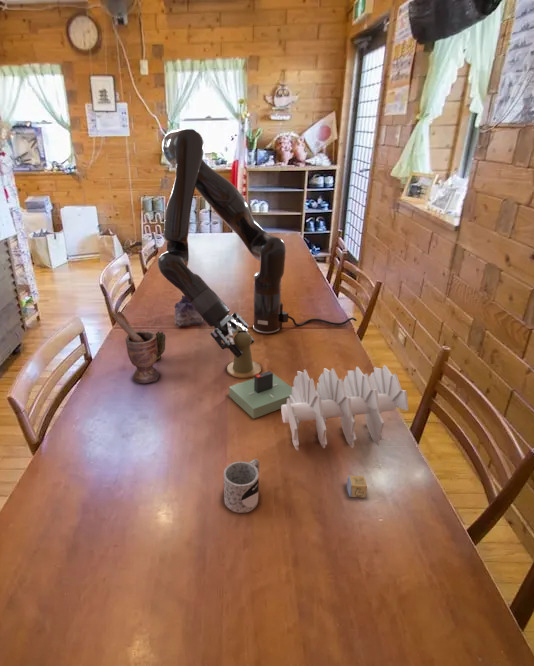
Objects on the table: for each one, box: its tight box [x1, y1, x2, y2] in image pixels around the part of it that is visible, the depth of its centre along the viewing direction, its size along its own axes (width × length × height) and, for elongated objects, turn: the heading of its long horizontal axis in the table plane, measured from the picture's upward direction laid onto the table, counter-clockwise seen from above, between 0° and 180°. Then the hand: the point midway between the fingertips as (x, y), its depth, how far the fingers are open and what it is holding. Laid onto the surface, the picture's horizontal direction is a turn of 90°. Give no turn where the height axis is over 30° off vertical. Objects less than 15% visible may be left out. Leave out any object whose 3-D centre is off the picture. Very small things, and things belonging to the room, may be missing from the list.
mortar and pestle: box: [112, 310, 160, 384], centre depth 127 cm, size 12×9×20 cm
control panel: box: [228, 373, 293, 420], centre depth 120 cm, size 14×12×3 cm
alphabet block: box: [346, 475, 368, 498], centre depth 89 cm, size 3×3×3 cm
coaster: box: [226, 360, 262, 379], centre depth 135 cm, size 10×10×1 cm
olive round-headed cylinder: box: [232, 332, 253, 373], centre depth 132 cm, size 6×6×11 cm
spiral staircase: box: [280, 364, 409, 451], centre depth 102 cm, size 18×18×25 cm
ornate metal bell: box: [155, 331, 167, 362], centre depth 140 cm, size 8×7×8 cm
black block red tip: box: [253, 370, 274, 393], centre depth 118 cm, size 5×2×5 cm, turn 120°
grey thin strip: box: [223, 458, 260, 514], centre depth 89 cm, size 10×7×7 cm
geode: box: [174, 294, 204, 328], centre depth 168 cm, size 20×12×10 cm, turn 174°
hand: (246, 349), depth 131 cm, fingers open, 8 cm apart
